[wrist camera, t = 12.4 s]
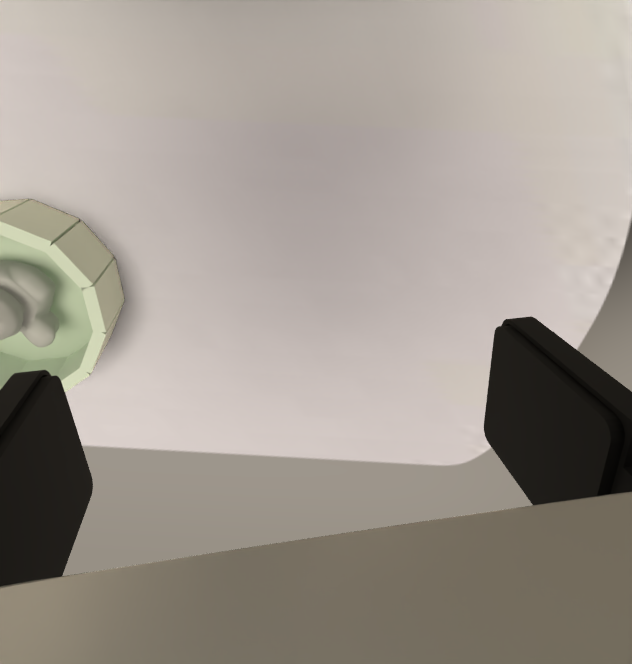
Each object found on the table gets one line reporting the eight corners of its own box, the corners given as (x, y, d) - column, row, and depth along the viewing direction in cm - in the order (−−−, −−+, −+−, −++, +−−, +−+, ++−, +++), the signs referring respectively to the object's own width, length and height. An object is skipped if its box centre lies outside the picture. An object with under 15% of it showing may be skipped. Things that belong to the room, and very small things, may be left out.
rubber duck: (17, 233, 34) (-40, 270, 27) (92, 302, 37) (57, 352, 30) (-37, 280, 35) (-107, 328, 28) (40, 345, 38) (-6, 403, 31)
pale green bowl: (-95, 207, 34) (-158, 229, 28) (99, 193, 35) (74, 211, 30) (-29, 370, 39) (-71, 414, 34) (137, 352, 40) (121, 392, 35)
